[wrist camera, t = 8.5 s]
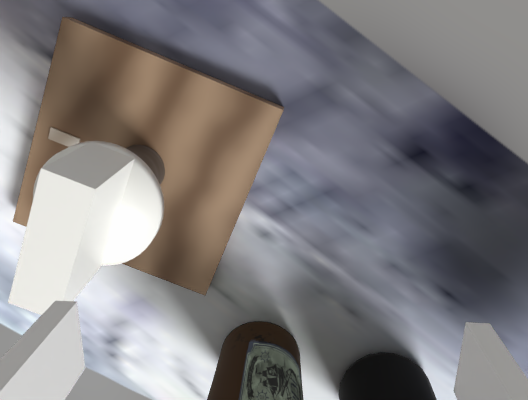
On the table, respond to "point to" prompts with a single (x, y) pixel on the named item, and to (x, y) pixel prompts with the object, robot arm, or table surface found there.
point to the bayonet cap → (84, 221)
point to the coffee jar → (385, 379)
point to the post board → (157, 141)
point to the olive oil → (258, 365)
